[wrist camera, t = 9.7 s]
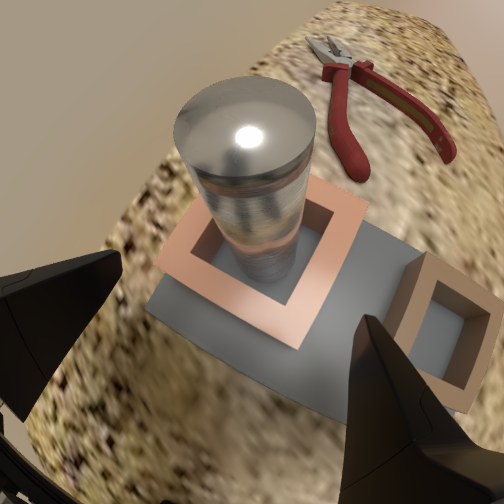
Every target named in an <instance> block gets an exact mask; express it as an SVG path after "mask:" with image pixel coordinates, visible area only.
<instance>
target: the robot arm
mask: <svg viewBox="0 0 504 504" xmlns="http://www.w3.org/2000/svg"><path fill="white" fill-rule="evenodd" d="M122 272H123V268H122V260H121V254H120V252H119V251H116V250H113V249H109V250H104V251H100V252H96V253H92V254H88V255H84V256H81V257H76V258H73V259H69V260H65V261H61V262H57V263H53V264H50V265H46V266H42V267H38V268H35V269H31V270H27V271H24V272H20V273H16V274H12V275H8V276H4V277H0V408H1V407H2V405H3V404H5V405H6V407H7V408H9V409H10V411H11V412H13V414H14V415H15V416H16V417H17V418H18V419H19V420H21V422H22V423H24V422H25V420H26V419H27V417H28V415H29V413H30V412H31V410H32V408H33V407H34V405H35V403H36V402H37V400H38V398H39V397H40V395H41V393H42V392H43V390H44V388H45V387H46V385H47V384H48V382H49V380H50V379H51V377H52V376H53V374H54V373H55V371H56V370H57V368H58V366H59V365H60V364H61V362H62V361H63V359H64V358H65V356H66V355H67V353H68V352H69V350H70V349H71V347H72V346H73V345H74V343H75V342H76V340H77V339H78V338H79V336H80V335H81V333H82V332H83V331H84V329H85V328H86V326H87V325H88V324H89V322H90V321H91V320H92V318H93V317H94V316H95V314H96V313H97V312H98V310H99V309H100V308H101V306H102V305H103V304H104V302H105V301H106V299H107V297H108V296H109V294H110V293H111V291H112V289H113V288H114V286H115V285H116V283H117V282H118V280H119V279H120V277H121V275H122ZM426 384H427V383H426V382H425V380H424V379H423V378H422V376H421V375H420V373H419V372H418V371H417V369H416V368H415V367H414V365H413V364H412V363H411V361H410V360H409V359H408V357H407V356H406V355H405V353H404V352H403V351H402V349H401V348H400V347H399V345H398V344H397V343H396V342H395V340H394V339H393V338H392V336H391V335H390V334H389V333H388V331H387V330H386V329H385V327H384V326H383V325H382V324H381V322H380V321H379V320H378V319H377V317H376V316H374V315H369V314H364V315H363V316H362V318H361V320H360V322H359V324H358V326H357V329H356V331H355V333H354V337H353V346H352V354H351V362H350V370H349V380H348V409H347V427H346V441H345V452H344V462H343V471H342V480H341V487H340V494H339V500H338V504H504V453H499V452H495V451H491V450H487V449H484V448H481V447H479V446H478V445H476V444H475V443H474V442H473V441H472V440H471V439H470V438H469V437H468V435H467V434H466V433H465V432H464V431H463V429H462V428H461V427H460V426H459V424H458V423H457V422H456V421H455V420H454V418H453V417H452V416H451V415H450V414H449V412H448V411H447V410H446V409H445V407H444V406H443V405H442V404H441V402H440V401H439V400H438V398H437V397H436V395H435V394H434V393H433V391H432V390H431V389H430V387H429V386H428V385H426ZM3 425H4V424H3V415H2V414H1V412H0V504H28V503H27V502H25V501H24V500H22V499H20V498H19V497H17V496H16V495H17V493H18V492H20V493H22V494H23V495H25V496H26V497H28V498H29V499H28V500H29V501H30V502H31V503H32V504H83V503H82V502H80V501H79V500H77V499H76V498H74V497H73V496H72V495H70V494H69V493H67V492H66V491H65V490H63V489H62V488H61V487H59V486H58V485H57V484H56V483H54V482H53V481H52V480H50V479H49V478H48V477H47V476H46V475H44V474H43V473H42V472H41V471H40V470H38V469H37V468H36V467H35V466H34V465H33V464H32V463H31V462H30V461H28V460H27V459H26V458H25V457H24V456H23V455H22V454H21V453H20V452H19V451H18V450H17V449H16V448H15V447H14V446H13V445H12V444H11V443H10V442H9V441H8V440H7V439H6V438H5V437H4V426H3ZM160 504H173V503H171V502H170V501H167V500H163V501H162V502H161V503H160Z"/></svg>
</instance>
